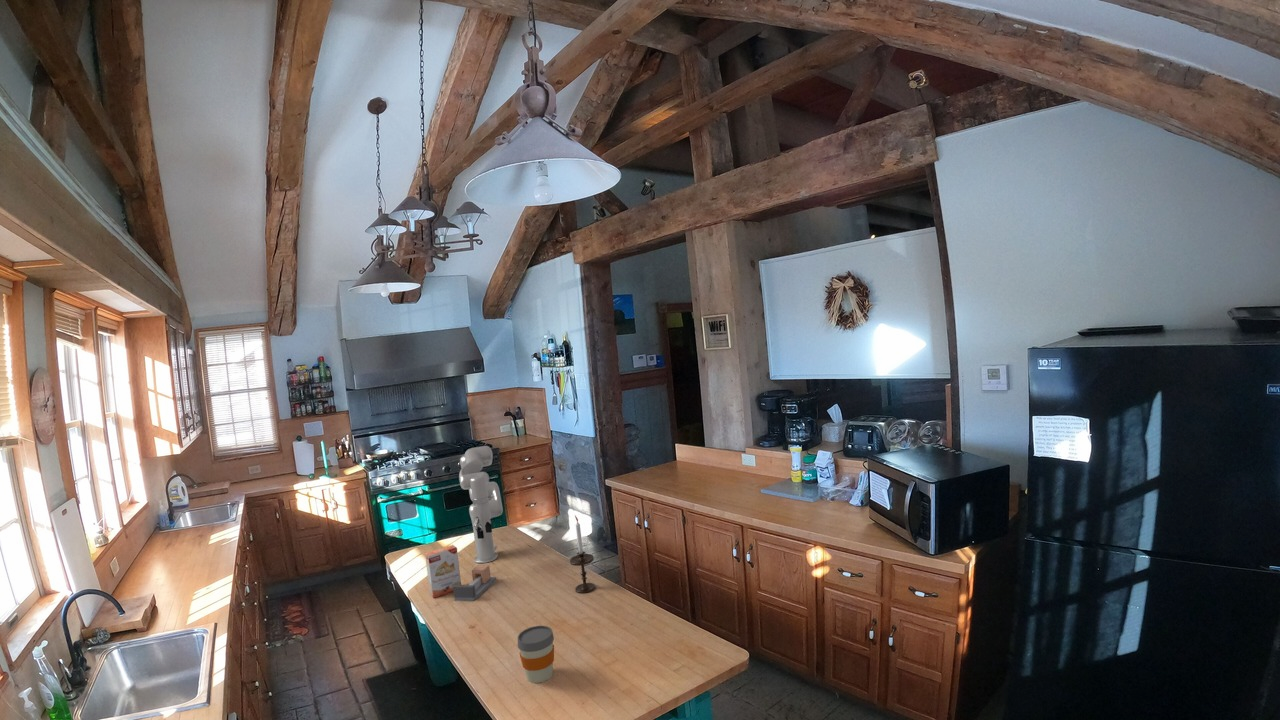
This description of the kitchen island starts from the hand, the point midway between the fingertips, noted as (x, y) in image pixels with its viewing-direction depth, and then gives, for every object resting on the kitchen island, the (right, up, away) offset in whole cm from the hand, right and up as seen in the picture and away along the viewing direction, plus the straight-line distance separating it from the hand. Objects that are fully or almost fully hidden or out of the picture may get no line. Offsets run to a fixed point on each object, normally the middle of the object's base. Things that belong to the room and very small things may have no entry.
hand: (485, 535), depth 304 cm
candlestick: (+52, -18, -24) cm, 60 cm away
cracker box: (-16, -25, -10) cm, 31 cm away
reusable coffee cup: (+42, -23, -91) cm, 103 cm away
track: (-1, -23, -12) cm, 26 cm away
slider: (0, -21, -6) cm, 22 cm away
